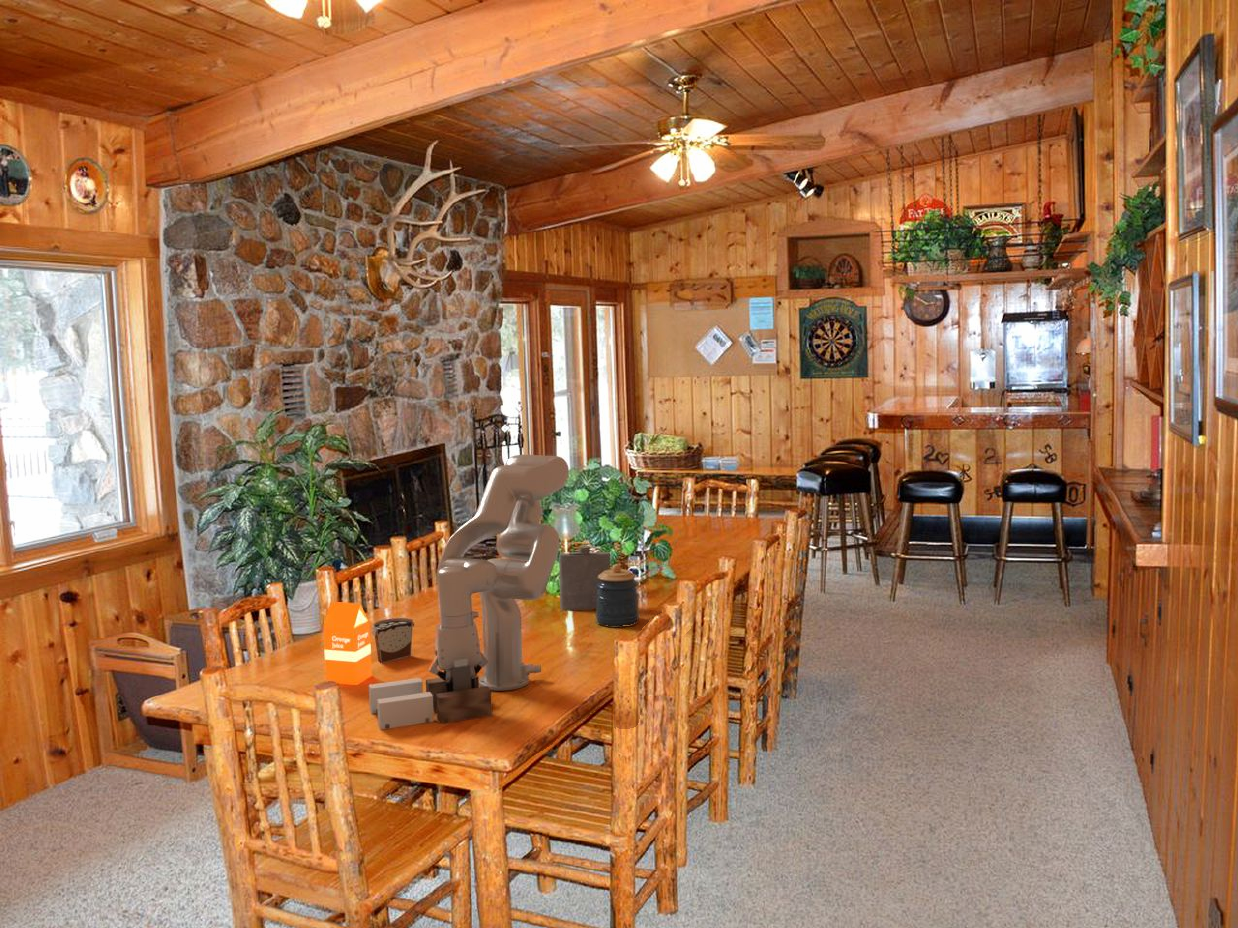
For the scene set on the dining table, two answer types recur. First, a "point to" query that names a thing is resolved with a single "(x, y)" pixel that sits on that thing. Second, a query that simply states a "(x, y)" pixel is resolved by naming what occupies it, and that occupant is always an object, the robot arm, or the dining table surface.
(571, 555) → the hip flask
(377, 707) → the dock
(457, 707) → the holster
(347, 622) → the orange juice
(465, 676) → the plug
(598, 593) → the canister
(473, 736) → the dining table surface
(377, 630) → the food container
